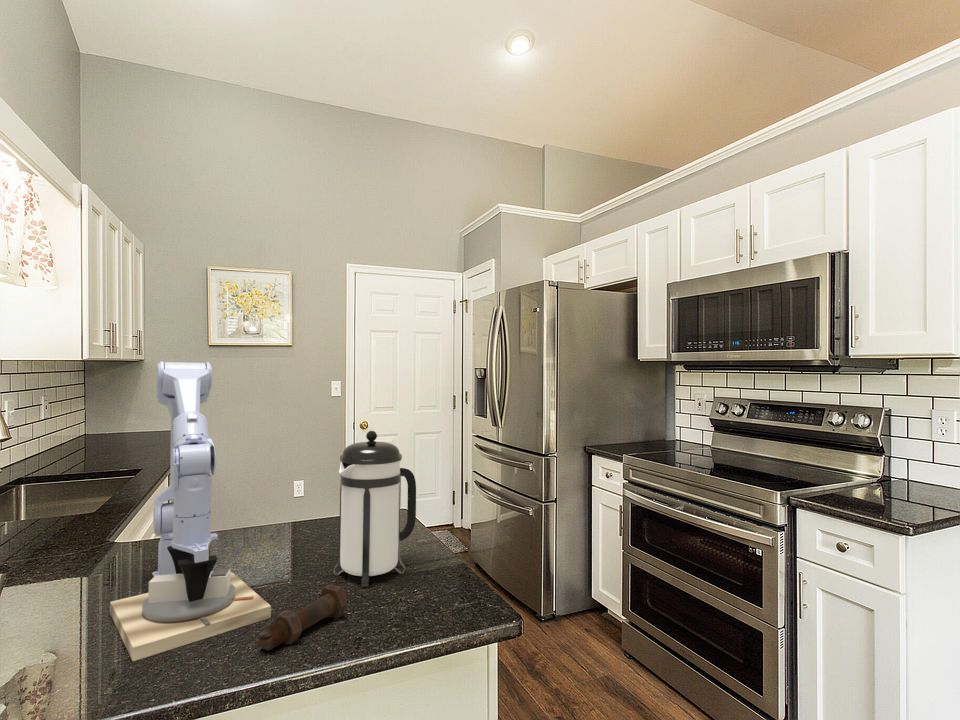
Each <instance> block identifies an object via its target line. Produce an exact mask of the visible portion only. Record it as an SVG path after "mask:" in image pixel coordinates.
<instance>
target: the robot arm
mask: <svg viewBox="0 0 960 720" xmlns="http://www.w3.org/2000/svg"><path fill="white" fill-rule="evenodd" d="M155 385H156V398H157V399H158V400H157V401H158V403H159V404H161V405H164V406H166V407H167V409H168V412H169V415H170V462H169V463H170V472H169V476H170V477H169V478H170V479H169V481H170V485H169V486H168V487H166V488H165V489H164V490H162V491H160V492H159V493H158V494H157V495H156V496H155V499H154V506H153V514H152V515H153V521H152V522H153V523H152V524H153V525H152V526H153V527H152V528H153V534H154V535H155V536H157V537H160V539H159V541H158V546H157V547H158V549H157V550H158V555H157V570H155V571H153V572H152V573H151V574H152V576H153V577H154V576H155V575H169V574H182V573H183V575H184V579H185V584H186V592H187V597H188V600H189V602H192V601H196V600H200V599H203V597H204V594H205V590H206V586H207V582H208V579H209V576H210V573H211V571H213V569H214V567H215V566H216V564H217V563H218V557H217V555H216V554H214V555H210V549H209V548H210V545H211V544H212V541H216V540H218V539H219V535H218V534H217V533H215V532H214V533H213V532H212V533H211V531H212V530H211V527H212V525H211V522H212V521H211V520H212V519H211V517H212V485H213V484H212V477H213V476H214V475H215V472H216V464H217V453H216V447H215V444H214V442H213V439H212V438H210V437H211V436H210V429H209V422H208V418H207V417H206V416H205V415H204V414H203V413H201V405H202V404H204V403H206V402H207V401H208V398H209V397H210V393H211V389H212V386H213V366H212V364H211V363H210V362H209V361H205V362H181V361H180V362H175V361H172V362H170V361H164V360H163V361H159V363H157V364H156V384H155ZM169 501H173V502H169Z"/></svg>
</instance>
